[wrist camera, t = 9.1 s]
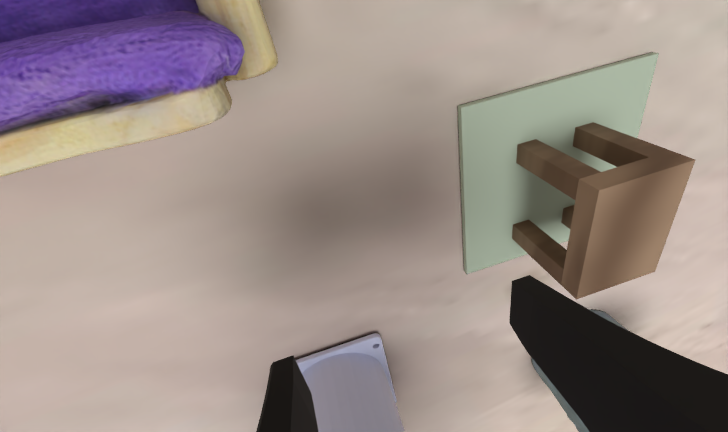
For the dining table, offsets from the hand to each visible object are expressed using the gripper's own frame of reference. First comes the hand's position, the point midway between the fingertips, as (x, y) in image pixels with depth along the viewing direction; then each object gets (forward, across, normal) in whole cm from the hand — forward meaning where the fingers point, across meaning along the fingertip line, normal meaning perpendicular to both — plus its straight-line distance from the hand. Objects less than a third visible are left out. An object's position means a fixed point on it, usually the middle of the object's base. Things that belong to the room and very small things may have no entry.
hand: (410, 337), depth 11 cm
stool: (+10, -13, +4) cm, 17 cm away
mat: (+10, -13, +3) cm, 17 cm away
